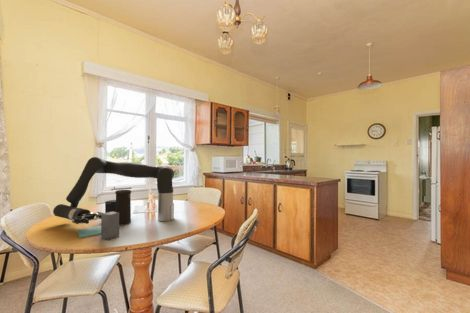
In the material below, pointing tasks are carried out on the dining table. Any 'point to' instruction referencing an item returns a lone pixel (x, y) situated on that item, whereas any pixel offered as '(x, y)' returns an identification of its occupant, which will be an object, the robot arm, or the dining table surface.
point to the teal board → (89, 232)
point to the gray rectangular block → (109, 225)
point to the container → (123, 206)
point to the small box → (110, 206)
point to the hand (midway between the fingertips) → (96, 219)
